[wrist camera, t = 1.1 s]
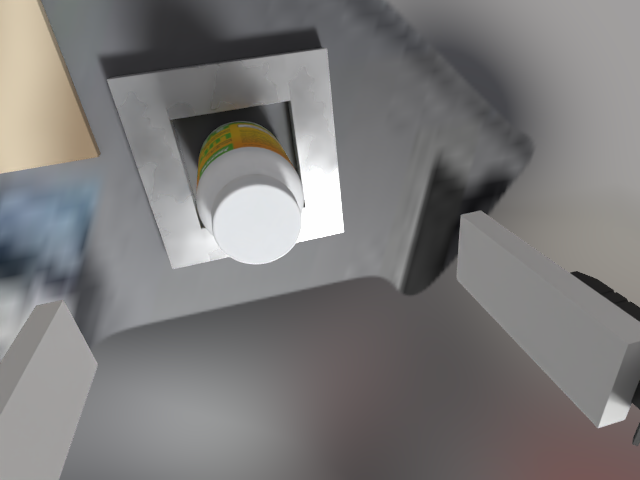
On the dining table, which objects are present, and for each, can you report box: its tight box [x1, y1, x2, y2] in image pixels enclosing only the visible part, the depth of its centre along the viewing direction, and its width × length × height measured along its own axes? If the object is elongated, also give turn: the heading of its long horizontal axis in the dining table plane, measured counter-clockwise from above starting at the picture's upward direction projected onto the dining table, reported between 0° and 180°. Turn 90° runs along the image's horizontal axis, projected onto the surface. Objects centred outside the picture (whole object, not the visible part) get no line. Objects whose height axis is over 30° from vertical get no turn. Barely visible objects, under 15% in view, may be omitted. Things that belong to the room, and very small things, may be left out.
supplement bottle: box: [196, 121, 304, 264], centre depth 22 cm, size 5×5×10 cm
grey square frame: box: [107, 47, 344, 269], centre depth 26 cm, size 12×12×1 cm
